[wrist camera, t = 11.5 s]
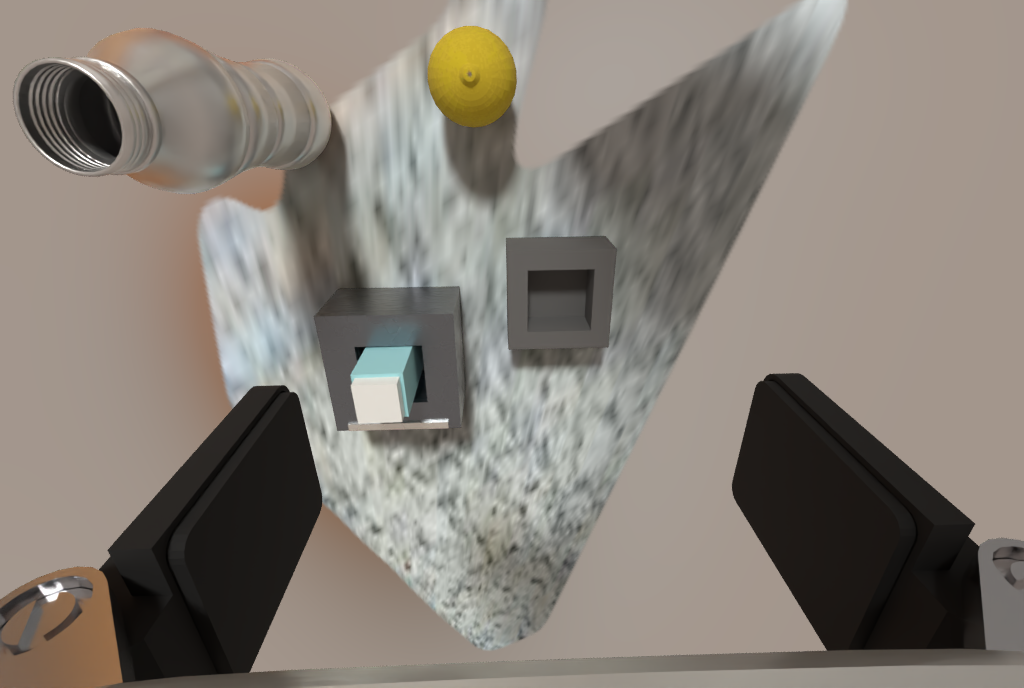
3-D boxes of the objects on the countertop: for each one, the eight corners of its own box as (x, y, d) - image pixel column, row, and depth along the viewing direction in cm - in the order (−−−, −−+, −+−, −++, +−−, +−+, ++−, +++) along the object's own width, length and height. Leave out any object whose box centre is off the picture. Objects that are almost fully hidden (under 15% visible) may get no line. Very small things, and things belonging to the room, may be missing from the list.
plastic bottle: (243, 150, 35) (-22, 189, 17) (251, 47, 32) (-56, -34, 14) (332, 177, 36) (170, 243, 18) (347, 80, 33) (173, 43, 15)
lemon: (525, 107, 35) (533, 106, 27) (454, 137, 35) (443, 144, 28) (497, 21, 32) (497, -4, 25) (422, 55, 33) (401, 39, 26)
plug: (379, 322, 40) (346, 382, 31) (421, 320, 40) (400, 380, 31) (385, 359, 42) (355, 426, 33) (425, 357, 42) (406, 424, 33)
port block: (338, 288, 40) (313, 317, 34) (459, 286, 40) (452, 314, 35) (356, 391, 44) (336, 432, 39) (465, 389, 45) (461, 428, 39)
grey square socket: (506, 237, 39) (507, 250, 35) (605, 236, 39) (616, 248, 35) (507, 329, 42) (508, 349, 38) (598, 327, 42) (608, 347, 39)
